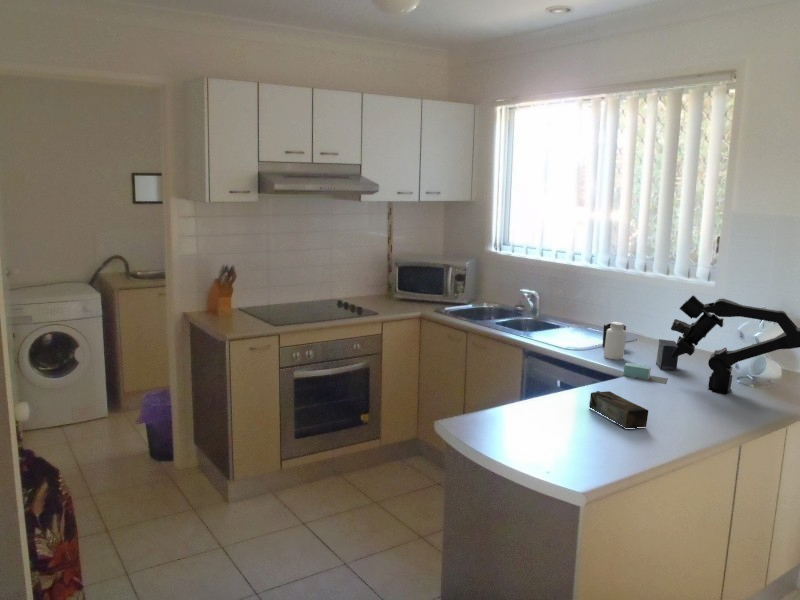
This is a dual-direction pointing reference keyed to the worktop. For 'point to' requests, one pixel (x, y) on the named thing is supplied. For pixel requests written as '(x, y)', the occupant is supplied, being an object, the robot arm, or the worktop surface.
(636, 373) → the block
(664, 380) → the mat
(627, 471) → the worktop surface
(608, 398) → the dark wooden bar
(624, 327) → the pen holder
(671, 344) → the small box
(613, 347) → the pill bottle
